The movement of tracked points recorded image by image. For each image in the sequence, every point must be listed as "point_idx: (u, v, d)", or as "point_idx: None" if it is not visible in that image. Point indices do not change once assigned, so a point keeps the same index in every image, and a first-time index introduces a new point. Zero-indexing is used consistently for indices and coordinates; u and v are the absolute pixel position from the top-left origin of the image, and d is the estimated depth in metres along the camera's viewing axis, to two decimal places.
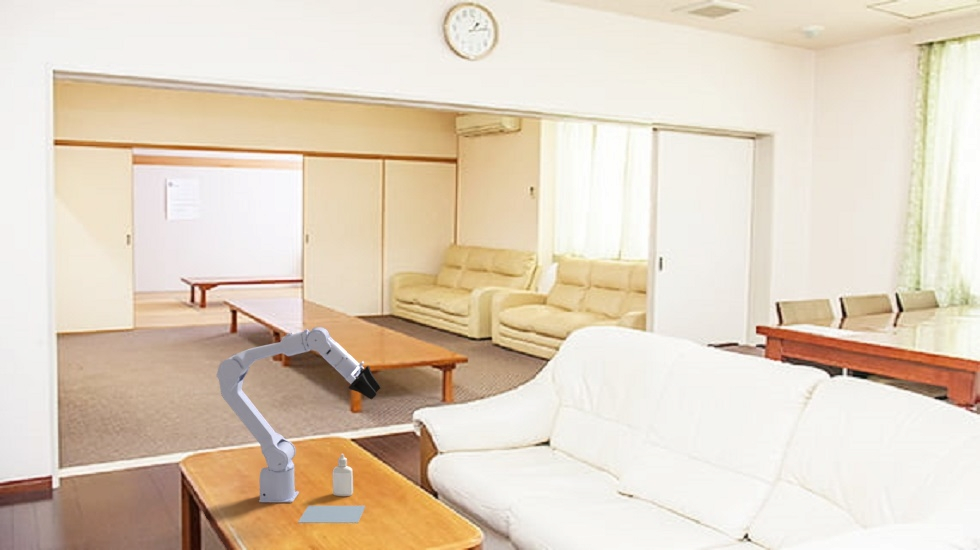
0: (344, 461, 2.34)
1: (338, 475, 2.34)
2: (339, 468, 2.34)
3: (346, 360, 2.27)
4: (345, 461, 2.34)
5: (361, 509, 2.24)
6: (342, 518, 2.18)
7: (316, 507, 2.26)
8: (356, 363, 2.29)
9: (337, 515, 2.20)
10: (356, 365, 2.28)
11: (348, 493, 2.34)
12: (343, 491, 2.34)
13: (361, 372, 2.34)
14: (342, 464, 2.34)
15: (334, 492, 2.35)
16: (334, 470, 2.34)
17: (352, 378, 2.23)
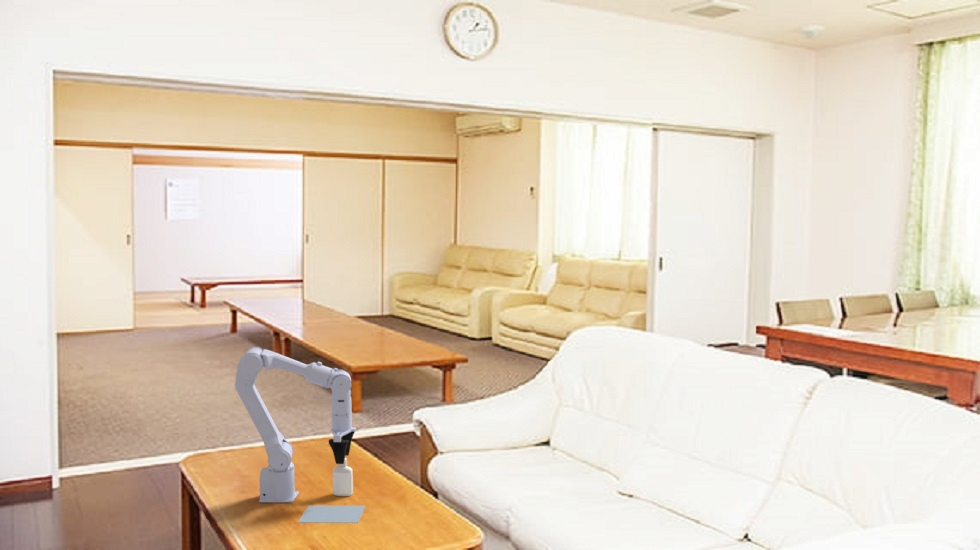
0: (344, 461, 2.34)
1: (338, 475, 2.34)
2: (339, 468, 2.34)
3: (345, 418, 2.32)
4: (345, 461, 2.34)
5: (361, 509, 2.24)
6: (342, 518, 2.18)
7: (316, 507, 2.26)
8: (350, 426, 2.33)
9: (337, 515, 2.20)
10: (349, 428, 2.33)
11: (348, 493, 2.34)
12: (343, 491, 2.34)
13: None
14: (342, 464, 2.34)
15: (334, 492, 2.35)
16: (334, 470, 2.34)
17: (338, 439, 2.27)
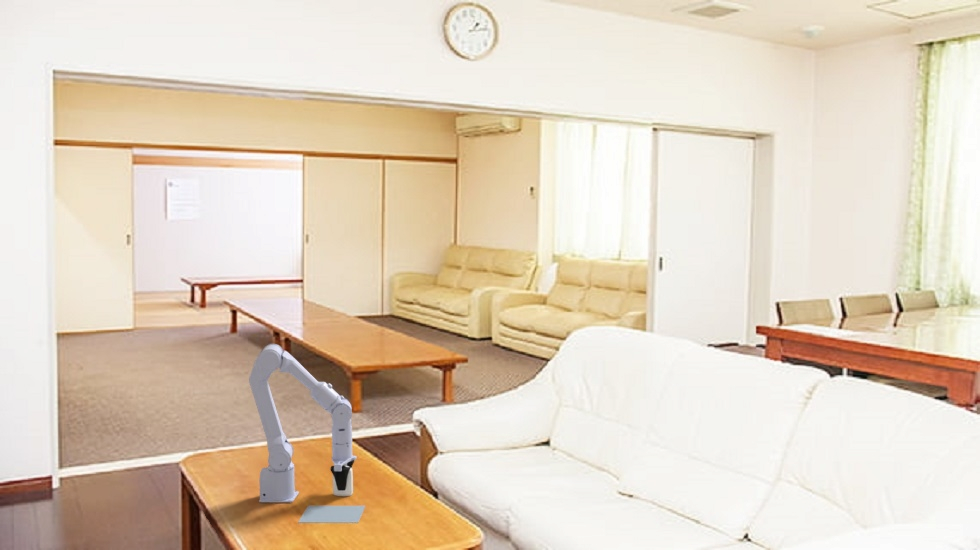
0: None
1: None
2: None
3: (346, 447, 2.32)
4: None
5: (361, 509, 2.24)
6: (342, 518, 2.18)
7: (316, 507, 2.26)
8: (350, 455, 2.34)
9: (337, 515, 2.20)
10: (349, 456, 2.33)
11: (348, 493, 2.34)
12: (343, 491, 2.34)
13: None
14: None
15: (334, 492, 2.35)
16: None
17: (339, 468, 2.28)
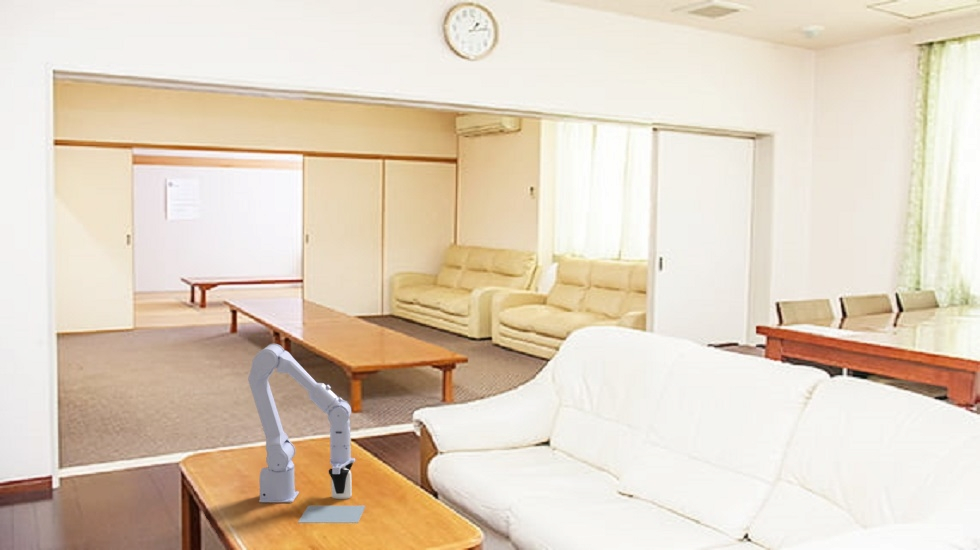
0: None
1: None
2: None
3: (344, 450, 2.30)
4: None
5: (361, 509, 2.24)
6: (342, 518, 2.18)
7: (316, 507, 2.26)
8: (349, 457, 2.31)
9: (337, 515, 2.20)
10: (348, 459, 2.31)
11: (347, 495, 2.32)
12: (342, 494, 2.32)
13: None
14: None
15: (333, 495, 2.33)
16: None
17: (337, 471, 2.25)
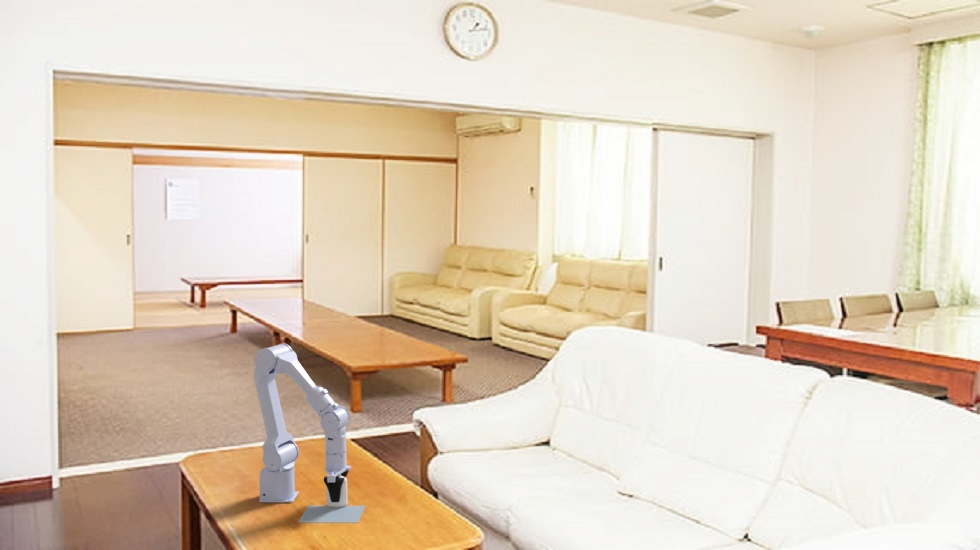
0: None
1: None
2: None
3: (340, 457, 2.23)
4: None
5: (361, 509, 2.24)
6: (342, 518, 2.18)
7: (316, 507, 2.26)
8: (344, 465, 2.25)
9: (337, 515, 2.20)
10: (343, 467, 2.24)
11: (344, 503, 2.26)
12: (338, 502, 2.25)
13: None
14: None
15: (328, 504, 2.26)
16: None
17: (332, 479, 2.19)
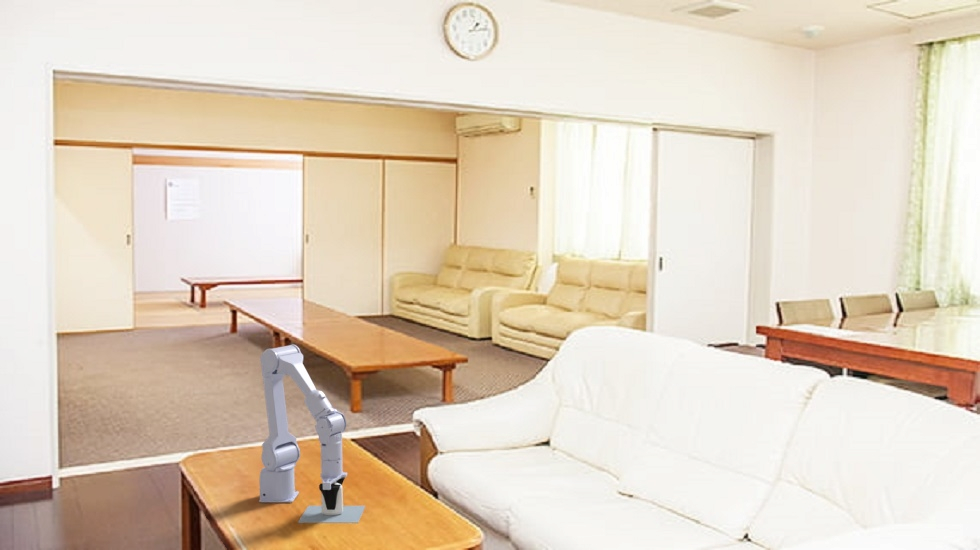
0: None
1: None
2: None
3: (336, 463, 2.18)
4: None
5: (361, 509, 2.24)
6: (342, 518, 2.18)
7: (316, 507, 2.26)
8: (340, 471, 2.19)
9: (337, 515, 2.20)
10: (339, 473, 2.19)
11: (339, 511, 2.20)
12: (333, 510, 2.20)
13: None
14: None
15: (323, 511, 2.20)
16: None
17: (328, 487, 2.13)
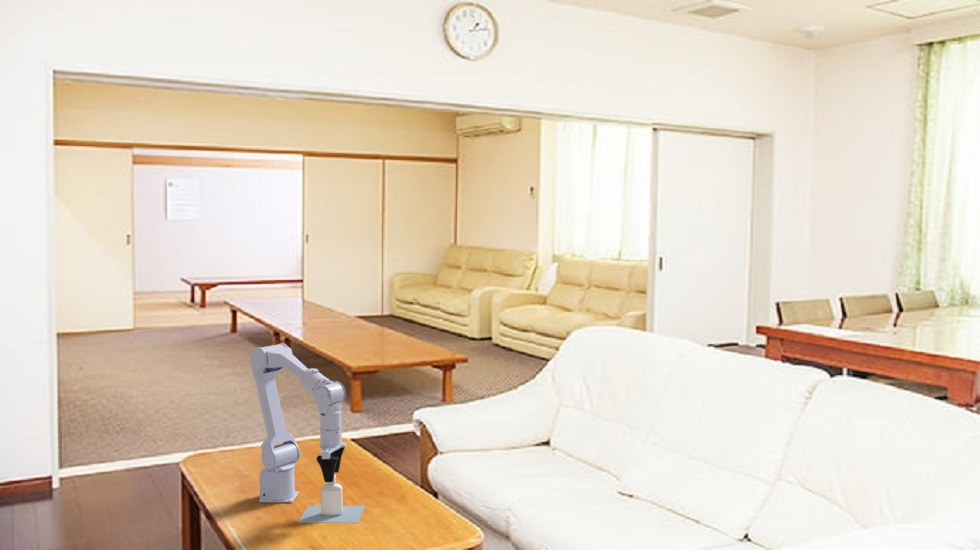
0: (334, 479, 2.19)
1: (328, 494, 2.19)
2: (328, 486, 2.19)
3: (335, 433, 2.17)
4: (335, 478, 2.20)
5: (361, 509, 2.24)
6: (342, 518, 2.18)
7: (316, 507, 2.26)
8: (340, 441, 2.18)
9: (337, 515, 2.20)
10: (338, 443, 2.18)
11: (339, 512, 2.20)
12: (333, 511, 2.19)
13: None
14: None
15: (323, 512, 2.20)
16: (323, 488, 2.19)
17: (327, 456, 2.12)
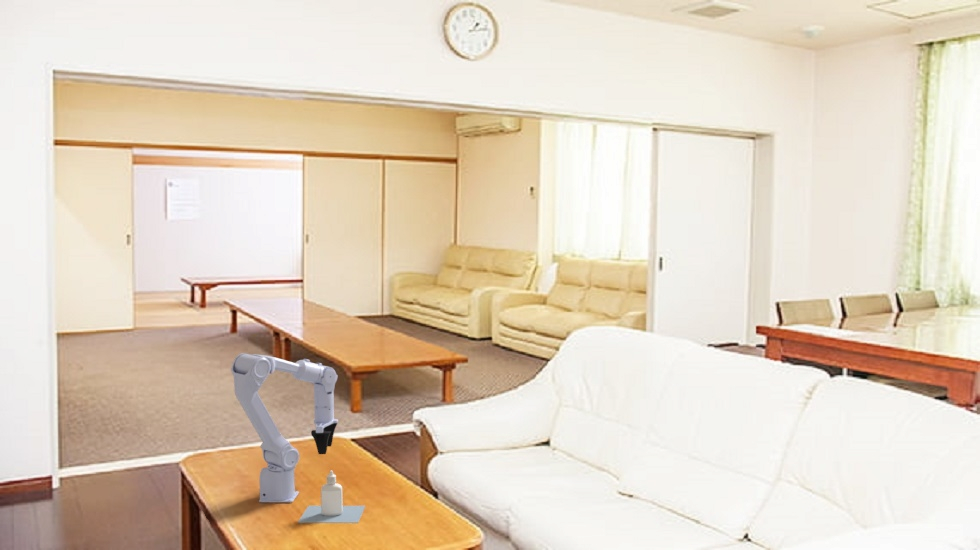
0: (334, 479, 2.19)
1: (328, 494, 2.19)
2: (328, 486, 2.19)
3: (328, 410, 2.41)
4: (335, 478, 2.20)
5: (361, 509, 2.24)
6: (342, 518, 2.18)
7: (316, 507, 2.26)
8: (332, 418, 2.42)
9: (337, 515, 2.20)
10: (331, 419, 2.42)
11: (339, 512, 2.20)
12: (333, 511, 2.19)
13: None
14: (332, 481, 2.19)
15: (323, 512, 2.20)
16: (323, 488, 2.19)
17: (320, 430, 2.36)
